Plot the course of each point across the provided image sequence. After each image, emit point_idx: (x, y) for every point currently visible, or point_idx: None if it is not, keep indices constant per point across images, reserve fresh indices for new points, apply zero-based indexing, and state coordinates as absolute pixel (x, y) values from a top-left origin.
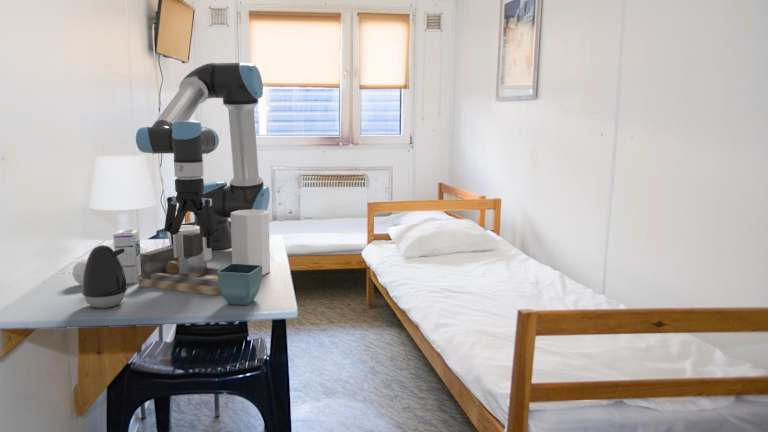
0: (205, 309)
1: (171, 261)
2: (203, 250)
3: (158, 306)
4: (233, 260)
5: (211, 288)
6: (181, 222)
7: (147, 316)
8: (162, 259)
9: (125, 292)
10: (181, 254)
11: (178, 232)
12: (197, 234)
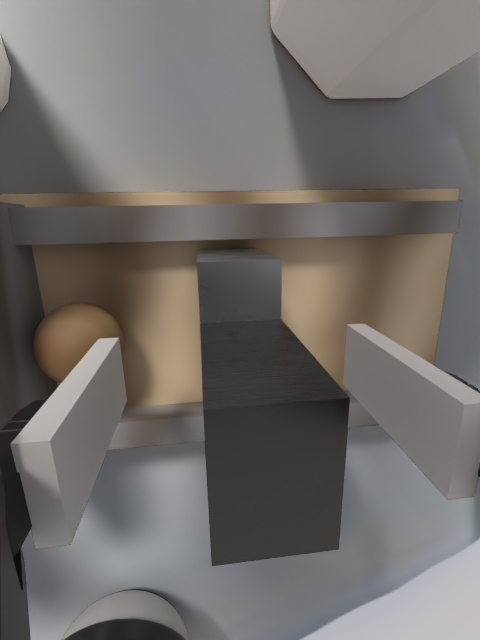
0: (439, 516)
1: (71, 366)
2: (378, 419)
3: (291, 556)
4: (323, 15)
5: None
6: (7, 637)
7: (322, 616)
8: (8, 393)
9: (176, 625)
10: (117, 350)
11: None
12: (342, 456)
